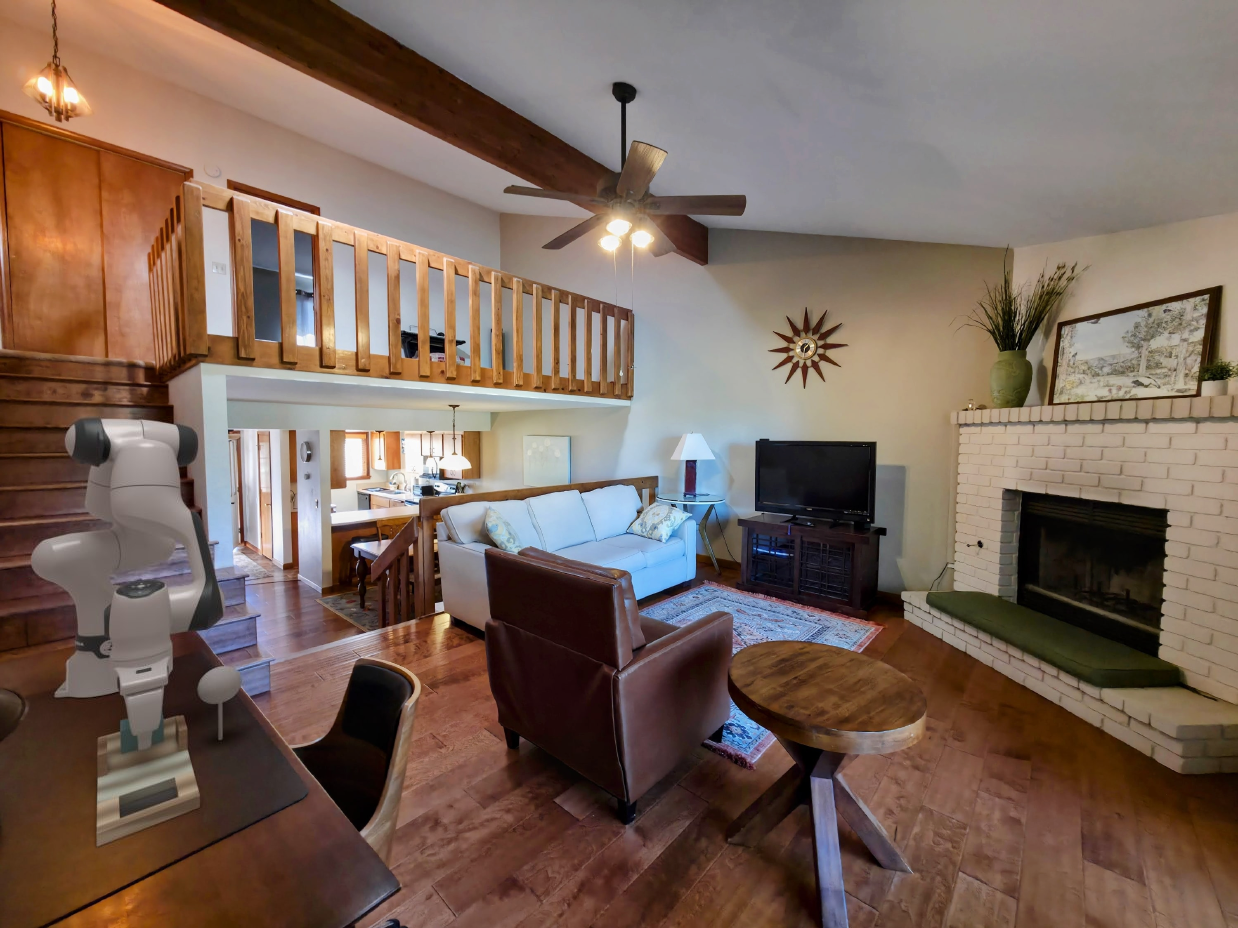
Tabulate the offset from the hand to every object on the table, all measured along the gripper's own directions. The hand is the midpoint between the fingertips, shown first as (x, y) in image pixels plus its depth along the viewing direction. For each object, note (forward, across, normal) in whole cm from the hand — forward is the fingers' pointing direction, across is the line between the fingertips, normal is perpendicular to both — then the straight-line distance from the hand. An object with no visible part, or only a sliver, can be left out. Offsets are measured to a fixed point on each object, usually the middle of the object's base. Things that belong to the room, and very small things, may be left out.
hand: (143, 737), depth 97 cm
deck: (+4, +8, 0) cm, 9 cm away
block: (+2, -2, 0) cm, 2 cm away
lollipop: (+4, +3, +11) cm, 13 cm away
